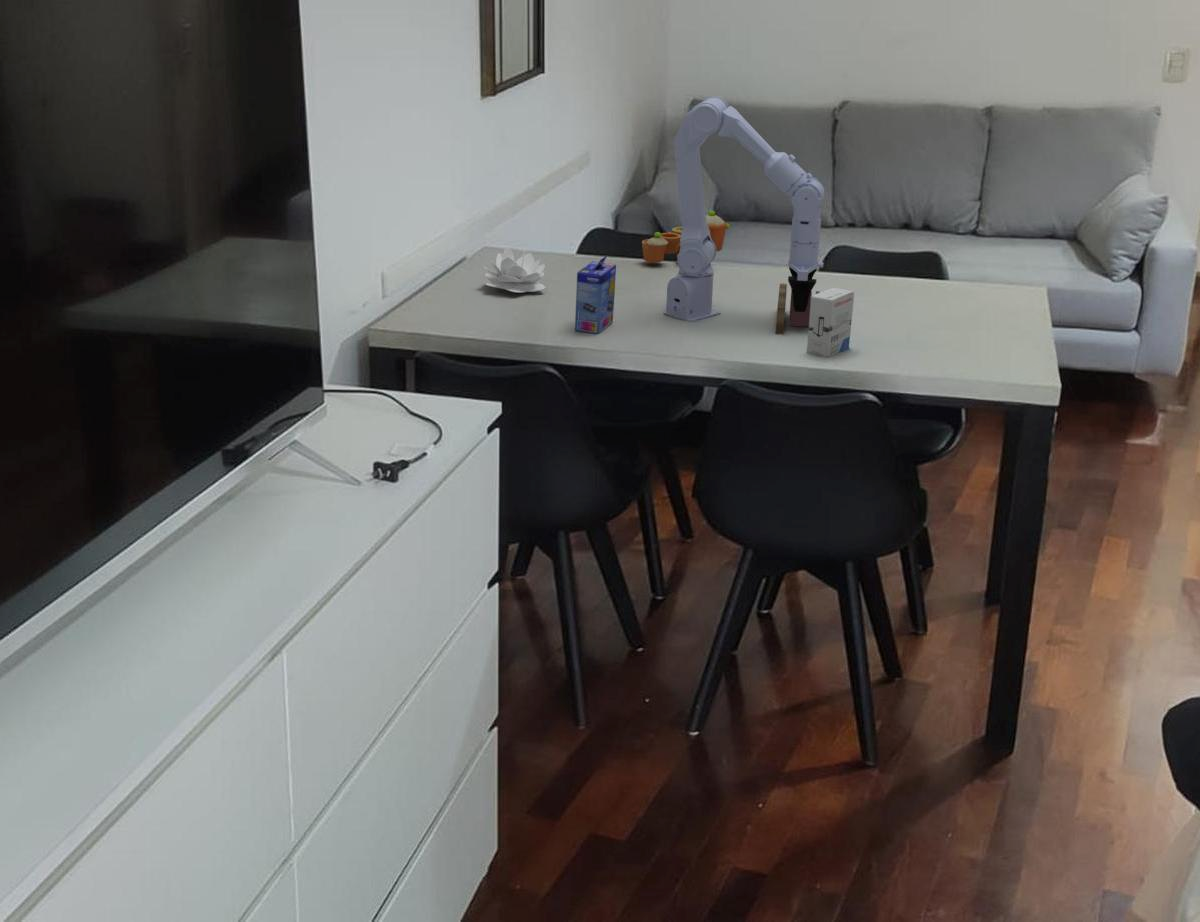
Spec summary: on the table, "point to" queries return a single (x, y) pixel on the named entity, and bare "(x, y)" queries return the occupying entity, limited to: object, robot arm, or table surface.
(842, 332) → the ink box
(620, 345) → the table surface
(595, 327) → the ink cartridge box
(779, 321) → the shelf wall
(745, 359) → the table surface
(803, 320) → the mauve rectangular block
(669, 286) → the robot arm
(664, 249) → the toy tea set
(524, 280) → the lotus flower
